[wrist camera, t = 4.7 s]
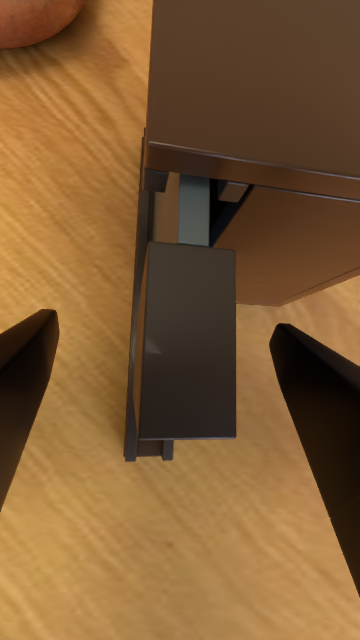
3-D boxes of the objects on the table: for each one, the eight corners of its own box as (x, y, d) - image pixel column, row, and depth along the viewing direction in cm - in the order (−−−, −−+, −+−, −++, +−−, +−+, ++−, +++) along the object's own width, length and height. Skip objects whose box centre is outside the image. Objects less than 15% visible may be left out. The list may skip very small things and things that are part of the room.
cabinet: (284, 449, 18) (617, 628, 6) (123, 452, 17) (105, 716, 4) (276, 167, 22) (474, -102, 9) (141, 146, 20) (162, -221, 8)
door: (170, 394, 16) (237, 439, 6) (132, 393, 16) (137, 441, 6) (178, 144, 19) (234, -105, 9) (146, 139, 19) (166, -128, 9)
